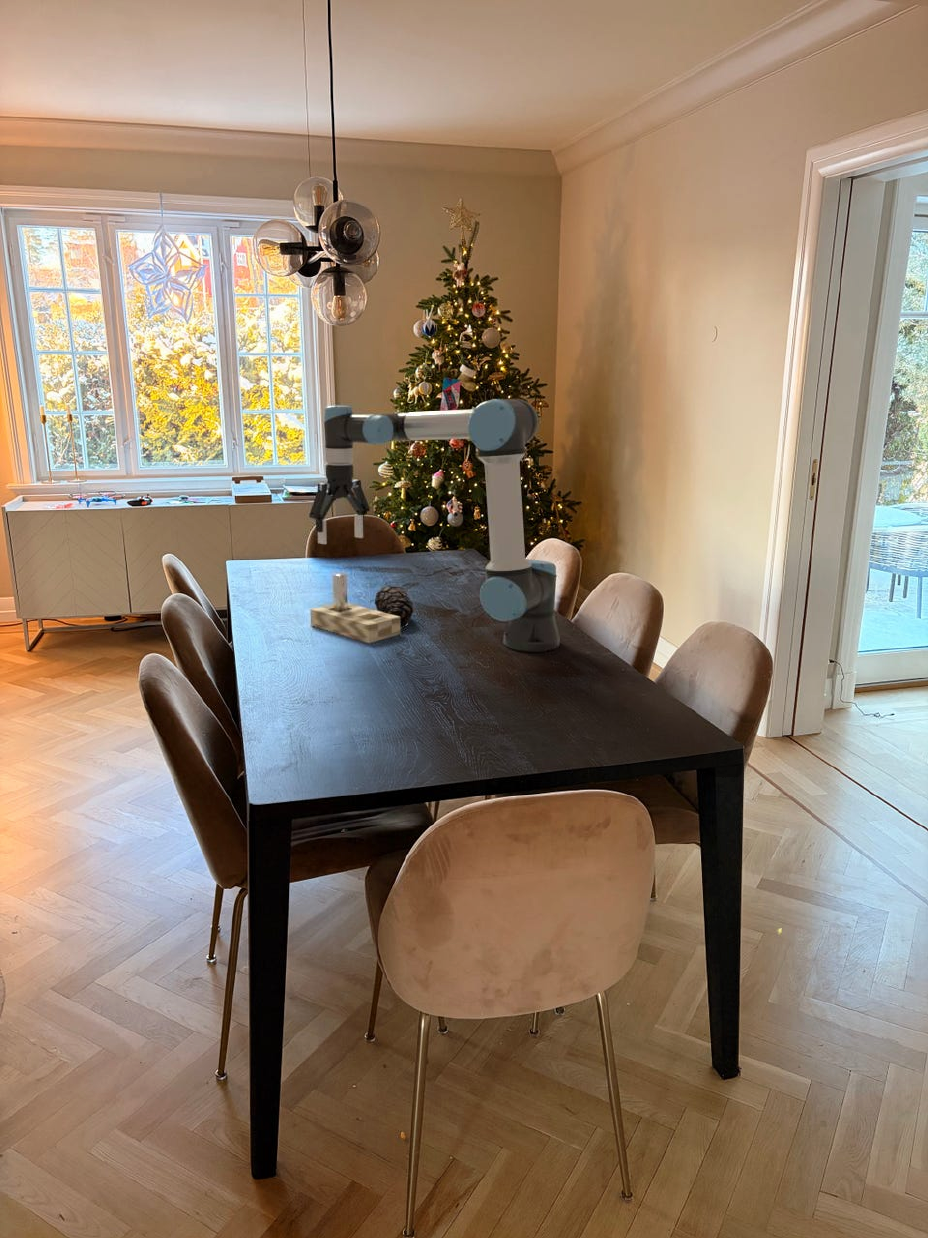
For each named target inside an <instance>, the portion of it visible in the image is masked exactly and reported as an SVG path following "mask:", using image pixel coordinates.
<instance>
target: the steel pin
mask: <svg viewBox="0 0 928 1238" xmlns="http://www.w3.org/2000/svg"><path fill="white" fill-rule="evenodd" d="M332 596H333V597H332V598H333V599H332V600H333V603H332V604H333V606H334V611H336V612H343V611H347V610H348V574H347V573H345V572H337V573H332Z"/></svg>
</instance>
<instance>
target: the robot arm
mask: <svg viewBox="0 0 928 1238" xmlns="http://www.w3.org/2000/svg"><path fill="white" fill-rule="evenodd" d="M323 419H324V420H323V424H324V426H323V427H324V445H325V446H324V447H325V448H324V451H325V452H324V453H325V458H324V459H325V462H326V465H325V478H326V479H327V480H326V481H327V482H326V483H324V482H318V483H317V491H316V494H315V498H314V500H313V504H312V505H311V510H310V512H309V514H308V516H309V518H310V519H313V520H314V521H315V531H316V532H317V544H321V545H327V543H328V542H327V538H328V537H327V519H325V518H326V515H327V514H328V512H329V511H330V509H331V507H332V505H333V503H334V502H335V501H337V499H342V498H344V499H346V500H347V502H348V503H349V504H350V505H351V507H352V508H353V510H354V511H355V513H354V515H353V516H354V518H353V519H354V522H353V523H354V538H358V539H363V538H364V525H365V516H367V515H368V513H369V512H370V511H371V507H370V505H369V503H368V501H367V498H366V495H365V493H364V490H363V488H362V481H361V480H360V479H354V465H353V464H352V463H353V462H354V448H353V447H354V443H358V444H359V443H360V444H371V445H386V444H388V443H389V442H401V441H402V442H403V441H404V442H405V441H427V440H428V441H429V440H430V441H431V440H432V441H433V440H435V441H436V440H466V439H467V440H469V439H470V441H471V442H472V443H473V444H474V446H475V447H476V448H477V450H476V451H477V458H478V460H480V461H481V462H482V463H483V465H484V473H485V474H484V475H485V488H486V489H485V490H486V504H487V518H488V519H487V520H488V521H487V522H488V534H489V535H488V536H489V548H490V549H489V550H490V561H489V562H488V563H487V565H486V566H485V581H484V582H483V584H482V586H481V587H480V591H479V600H480V601H479V602H480V604H481V607H482V608H483V611H485V612H486V613H487V614H488V615H489V616H490V617H491V618H492V619H494V620H497V621H500V622H501V621H502V622H508V623H507V625H506V627H505V630H504V633H503V645H504V646H505V647H507V648H509V649H512V650H515V651H521V652H522V651H523V652H531V653H532V652H534V653H535V652H536V653H537V652H538V653H539V652H548V651H547V650H549V651H552V650H551V649H553V650H555V649H557V648H559V647H560V640H561V639H560V634H559V632H558V626H557V624H556V619H555V604H556V603H555V602H556V589H557V588H556V585H557V576H558V574H557V568H556V567H557V566H556V565H555V563H554V562H552V561H547V560H539V559H531V558H529V559H528V558H526V555H525V554H526V552H525V535H524V532H525V531H524V519H523V518H524V517H523V501H522V486H521V485H522V481H521V466H520V465H521V464H520V462H521V460H522V459H523V458H524V456H525V455H526V447H525V445H526V444H527V443H529V442H531V440H532V439H533V438H534V437H535V435H536V434H537V432H538V429H539V416H538V413H537V411H536V410H535V408H534V406H533V405H532V404H531V403H530V402H528V401H526V400H523V399H521V398H511V399H510V398H506V399H505V398H494V399H490V400H486V401H483V402H480V403H479V404H478V405H477V406H476V407H475V408H474V409H473V408H472V409H470V408H469V409H453V410H451V409H450V410H436V411H435V410H433V411H432V410H431V411H430V410H429V411H413V412H411V411H410V412H401V411H400V412H392V413H376V414H375V413H371V414H368V413H367V414H365V413H364V414H362V413H361V414H357V413H354V411H353V408H352V407H351V406H350V405H327V406H325V408H324V418H323Z"/></svg>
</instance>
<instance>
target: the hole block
mask: <svg viewBox="0 0 928 1238" xmlns="http://www.w3.org/2000/svg"><path fill="white" fill-rule="evenodd" d="M309 611H310V627H313V626H315V627H314V628H316V627H318V628H317V629H319V628H321V629H320V630H323V629H325V630H324V631H326V630H328V631H327V632H330V631H331V632H330V633H333V632H335V633H334V634H336V633H338V634H337V635H340V634H341V636H343V635H344V637H346V636H347V638H350V639H354V640H357V641H359V642H363V643H367V644H370V643H374V642H378V641H381V640H385V639H388V638H391V637H394V636H399V635H401V628H400V617H399V616H395V615H392V614H388V613H384V612H380V611H378V610H377V609H372V608H368V607H364V606H361V605H356V604H353V603H348V610H347V611H343V612H336V611H334V606H333V603H332V604H331V603H330V604H327V605H322V606H318V607H315V608H310V609H309ZM398 634H399V635H398Z"/></svg>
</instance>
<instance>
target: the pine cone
mask: <svg viewBox="0 0 928 1238" xmlns="http://www.w3.org/2000/svg"><path fill="white" fill-rule="evenodd" d="M374 605H375V606H376V611H380V612H384V613H388V614H392V615H395V616H399V617H400V627H403V626H405V625H406V624H407V623H408V622H409V620H410V619H411V618H412V615H413V614H414V612H415V609H414V607H413V602H412V600H410V597H409V596H408V593H407V592H406V591H405V590H403V588H401V587H400V586H397V585H386V586H384V587H382V588H381V589H380V590H379V591H378V592H376V594H375V598H374Z"/></svg>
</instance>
